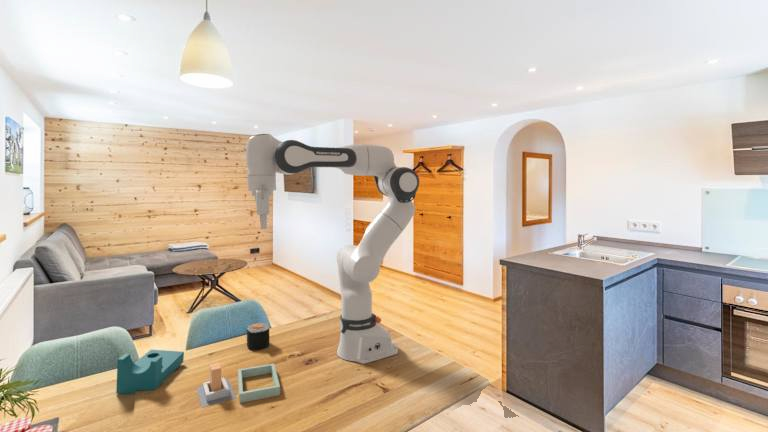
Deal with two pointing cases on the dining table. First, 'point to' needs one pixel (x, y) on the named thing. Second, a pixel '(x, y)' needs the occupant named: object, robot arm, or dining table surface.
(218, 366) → the orange rectangular block
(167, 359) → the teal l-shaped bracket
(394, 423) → the dining table surface
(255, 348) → the sushi
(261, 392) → the tray
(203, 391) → the grey socket base plate
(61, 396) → the dining table surface
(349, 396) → the dining table surface
